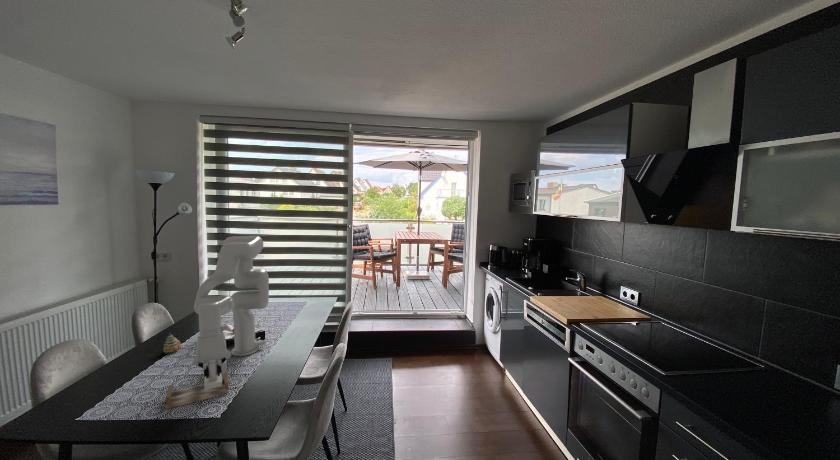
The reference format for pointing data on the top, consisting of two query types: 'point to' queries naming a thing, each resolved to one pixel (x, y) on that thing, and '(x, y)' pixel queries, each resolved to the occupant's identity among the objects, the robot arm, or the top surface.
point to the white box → (223, 368)
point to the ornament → (171, 345)
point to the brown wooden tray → (194, 394)
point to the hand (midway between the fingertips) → (213, 375)
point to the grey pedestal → (212, 376)
